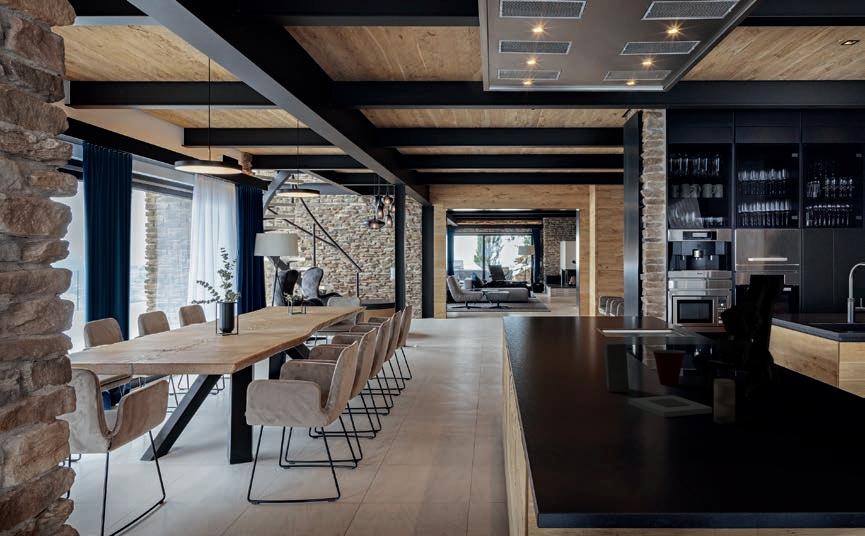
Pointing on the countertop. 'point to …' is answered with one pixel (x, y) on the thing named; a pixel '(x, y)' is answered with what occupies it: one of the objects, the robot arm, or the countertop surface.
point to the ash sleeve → (724, 401)
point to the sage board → (669, 406)
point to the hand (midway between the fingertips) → (724, 392)
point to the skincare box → (616, 367)
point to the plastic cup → (668, 366)
